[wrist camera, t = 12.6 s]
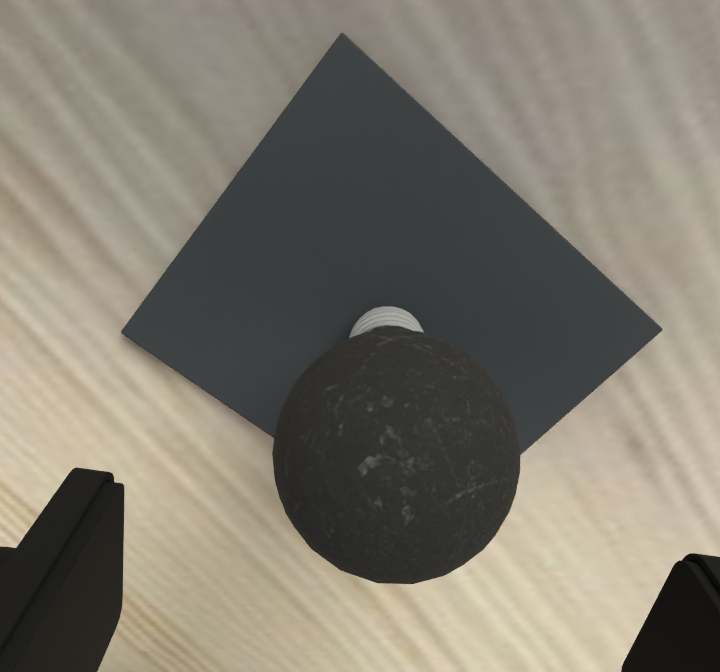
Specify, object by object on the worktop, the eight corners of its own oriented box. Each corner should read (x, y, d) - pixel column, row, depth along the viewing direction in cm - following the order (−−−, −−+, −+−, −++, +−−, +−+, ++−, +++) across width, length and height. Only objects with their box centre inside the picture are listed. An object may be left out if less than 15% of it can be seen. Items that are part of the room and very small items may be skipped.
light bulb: (271, 306, 20) (190, 501, 11) (416, 217, 19) (462, 355, 10) (360, 428, 22) (354, 682, 13) (498, 355, 21) (600, 578, 12)
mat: (125, 327, 21) (120, 333, 21) (342, 33, 17) (341, 32, 17) (422, 532, 25) (423, 540, 24) (657, 324, 21) (663, 330, 20)
